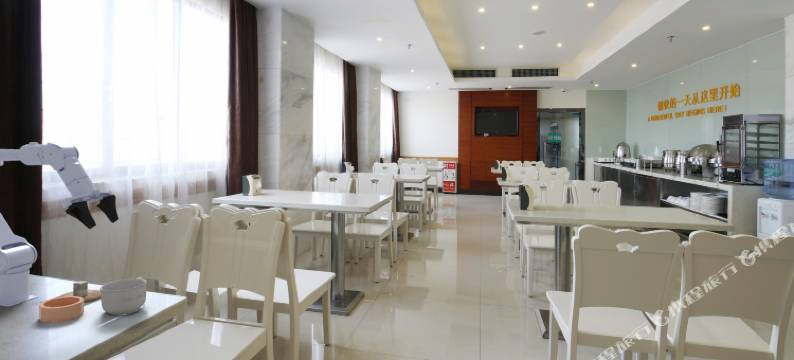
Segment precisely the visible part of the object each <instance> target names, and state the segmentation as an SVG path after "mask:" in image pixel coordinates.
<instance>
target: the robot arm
mask: <svg viewBox="0 0 794 360" xmlns="http://www.w3.org/2000/svg"><path fill="white" fill-rule="evenodd" d="M79 158H80V152H79V150H78V149H77V147H76V146H74V145H72V144H69V143H64V144H63V143H62V144H61V143H59V144H58V143H55V142H47V143H45V144H44V143H43V144H42V143H41V144H40V143H39V142H36V141H35V142H33V141H31V142H29V143H28V144H25V145H22V146H20V148H18V149H13V148H9V149H8V148H0V166H3V165H4V162H10V161H16V162H17V161H20V162H22V164H24V165H25V166H50V167H51V168H52V169H53V170H54V171H56V173H57V175H58V176H59V177H60V179H61V181H62V182H63V183H64V185H65V187H66V189H67V191H68V192H69V193H70V195H71V196H72V197H71V196H70V197H67V198H64V199H63V200H61V201H60V204H61V206H62V208H63V209H65V210H64V212H65V213H66V215H68V216H71V217H73V218H75V219H76V220H78V221H79V222H80V223H82V224H83V225H84V227H86V228H87V229H88V230H91V229H93V228H95V227H96V226H97V223H96V221H95V219H94V217H93V215H92V213H91V211H90V209H89V205H88V203H94V202H97V201H99V203H98V204H96V205H95V206H96V208H98V209H99V210H100V211H102V213H103V214H104V215H105V216H106V218H108V220H109V222H110V223H112V224H113V223H115V222H117V221H118V220H119V215H118V211H117V205H116V201H117V196H116V195H115V194H113V191H112V190H101V189H100V188H97V187H96V185H95V184H94V182H93V181H92V179H91V177H90V176H89V175H88V173H87V172H86V170H85V168H84V166H83V165H82V164H81V162H80V161H79ZM37 258H38V251H37V249H36V248H35V246H34V245H32V244H30V243H29V242H28V241H27V239H26V238H25V237H22V236H19V235H16V234H14V232H13V231H12V229H11V227H10V226H9V224H8V222H7V221H6V220H5V218H4V217H3V215H2V213H1V212H0V306H2V307H12V306H13V307H14V306H15V305H18V304H21V303H25V302H28V301H31V300H34V299H37V298H39V297H38V295H32V294H31V295H30V268H32V267H33V266H32V265H33V264H34V263H35V262H36V261H37Z"/></svg>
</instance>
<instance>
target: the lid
mask: <svg viewBox="0 0 794 360" xmlns="http://www.w3.org/2000/svg"><path fill="white" fill-rule="evenodd" d="M72 285H73V287H72V291H69V292H65V293H63V294H60V295H58V296H56V297H57V298H58V297H65V296H78V297H82V298H83V299H84V303H86V302H91V301H94V300H97V299H99V298H101V291H100V289H89V290H88V288H89V287H88V285H89V281H85V280H79V281H76V282H73V283H72Z"/></svg>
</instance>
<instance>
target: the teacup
mask: <svg viewBox="0 0 794 360" xmlns="http://www.w3.org/2000/svg"><path fill="white" fill-rule="evenodd" d="M99 290H100V291H101V300H100V301H101V303H100V304H101V307H102V310H103V311H104V312H106V313H108V314H110V315H112V316H113V315H114V316H126V315H130V314H133V313H136V312H137V311H139V310H140V308H141V307H143V306H144V305H145V303H146V300H147V280H146V279H145V278H144V277H142V276H139V277H136V278H125V279H119V280H118V279H117V280H114V281H111V282H107V283H105V284H103V285H101V286H100V287H99Z"/></svg>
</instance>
